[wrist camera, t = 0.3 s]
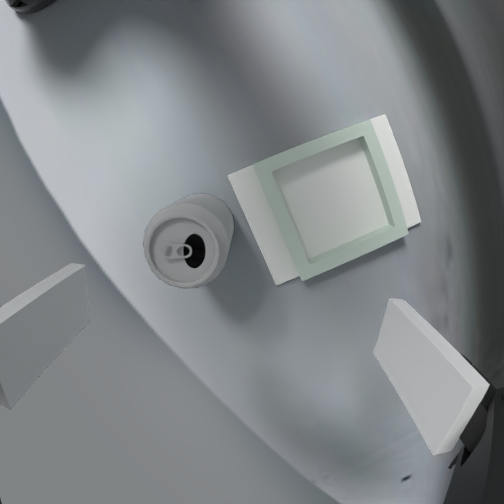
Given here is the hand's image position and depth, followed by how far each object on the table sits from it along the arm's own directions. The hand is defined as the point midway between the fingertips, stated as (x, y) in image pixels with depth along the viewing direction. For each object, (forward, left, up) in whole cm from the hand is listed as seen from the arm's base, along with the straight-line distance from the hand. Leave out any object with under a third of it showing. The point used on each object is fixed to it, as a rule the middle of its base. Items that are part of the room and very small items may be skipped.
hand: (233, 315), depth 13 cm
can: (-1, -5, -25) cm, 25 cm away
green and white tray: (+2, +10, -25) cm, 27 cm away
